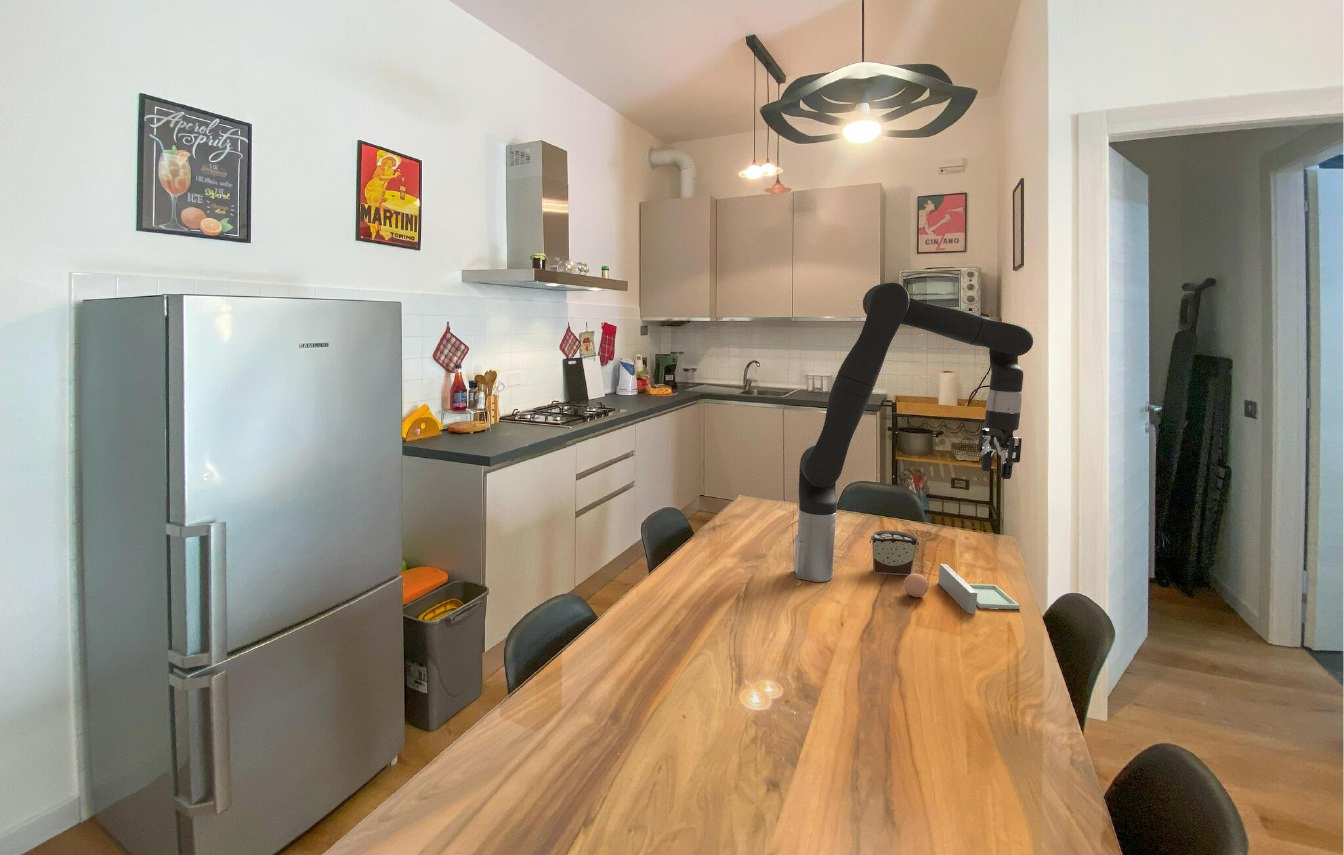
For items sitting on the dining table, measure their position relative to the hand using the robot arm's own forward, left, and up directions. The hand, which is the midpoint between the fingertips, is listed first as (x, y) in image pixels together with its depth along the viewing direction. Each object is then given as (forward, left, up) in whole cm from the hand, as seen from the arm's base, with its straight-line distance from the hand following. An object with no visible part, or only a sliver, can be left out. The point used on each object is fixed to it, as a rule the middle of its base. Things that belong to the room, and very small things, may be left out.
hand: (995, 474), depth 161 cm
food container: (-22, +6, -28) cm, 36 cm away
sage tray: (-4, -11, -28) cm, 30 cm away
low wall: (-11, -11, -28) cm, 32 cm away
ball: (-21, -11, -28) cm, 36 cm away
